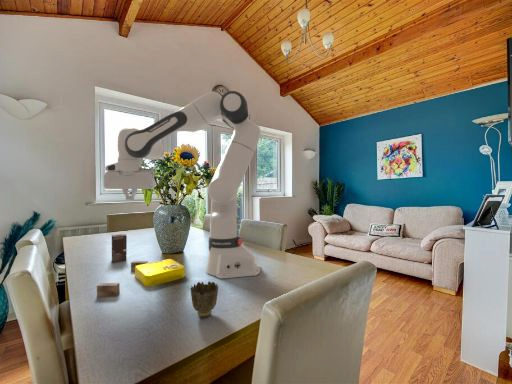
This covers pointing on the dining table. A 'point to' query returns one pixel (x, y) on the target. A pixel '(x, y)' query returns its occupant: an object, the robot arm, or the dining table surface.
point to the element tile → (159, 272)
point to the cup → (204, 298)
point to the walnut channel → (113, 288)
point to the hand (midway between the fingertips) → (130, 199)
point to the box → (119, 247)
